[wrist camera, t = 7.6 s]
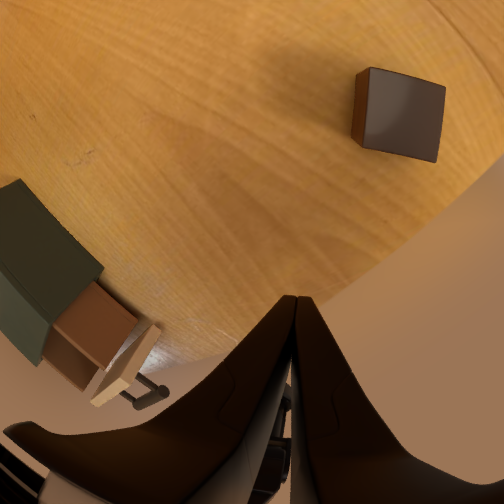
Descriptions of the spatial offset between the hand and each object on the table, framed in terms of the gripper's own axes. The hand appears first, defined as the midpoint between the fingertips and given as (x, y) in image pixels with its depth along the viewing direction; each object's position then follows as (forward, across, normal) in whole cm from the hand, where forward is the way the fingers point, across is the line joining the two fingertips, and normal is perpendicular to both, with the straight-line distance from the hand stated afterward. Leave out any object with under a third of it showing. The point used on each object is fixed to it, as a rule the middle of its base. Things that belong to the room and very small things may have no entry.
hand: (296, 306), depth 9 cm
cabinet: (+12, +29, +8) cm, 32 cm away
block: (+13, -5, -5) cm, 15 cm away
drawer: (+11, +21, +15) cm, 28 cm away
